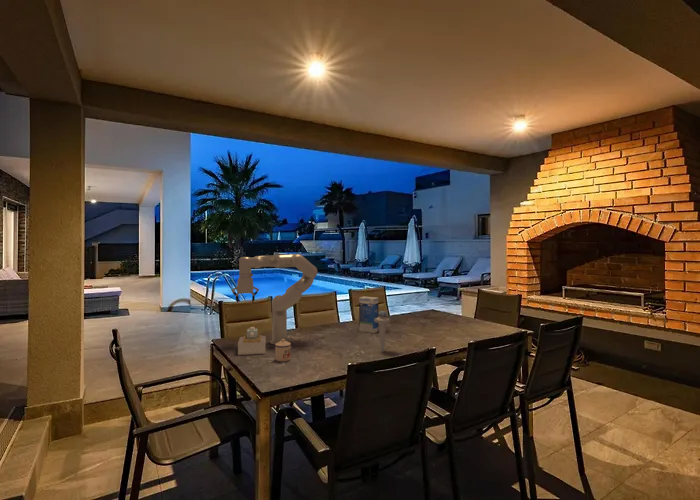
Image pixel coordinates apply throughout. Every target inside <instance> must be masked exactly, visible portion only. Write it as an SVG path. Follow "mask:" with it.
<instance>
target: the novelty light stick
mask: <svg viewBox="0 0 700 500" xmlns="http://www.w3.org/2000/svg"><path fill="white" fill-rule="evenodd" d="M387 315H388V313H387V312H386V311H385V310H380V311H379V310H378V318H375V319H374V321H375V322H377V323H378V330H379V331H378V332H379V333H378V334H379V352H380V353H384V352H385V342H386V328H387V326H386V325H387V324H389V323H391V318H390V317H386V316H387Z"/></svg>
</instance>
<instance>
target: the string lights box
mask: <svg viewBox="0 0 700 500" xmlns="http://www.w3.org/2000/svg"><path fill="white" fill-rule="evenodd" d="M358 300H359V301H358V303H359V304H358V307H359V309H358V310H359V311H358V313H359V315H358V318H359V320H358V321H359V323H358V324H359V327H358V328H359V330H358V331H359V332H364V333H371V334H375V333H378V332H379V323H377V322H375V321H374V319H375V318H378V317H379V315H378V313H379V297H375V296H364V295H363V296H360V297H359V298H358Z"/></svg>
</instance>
